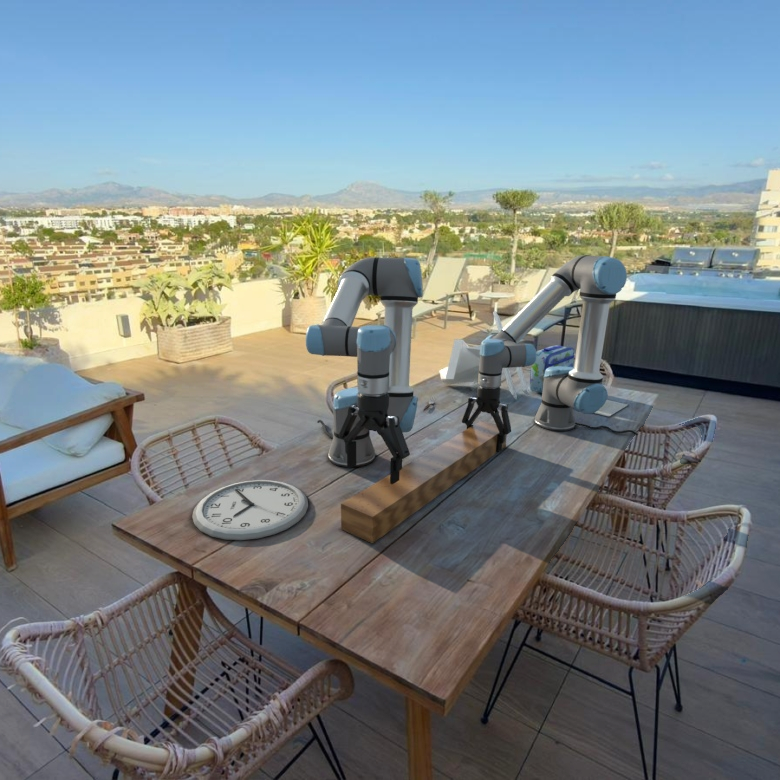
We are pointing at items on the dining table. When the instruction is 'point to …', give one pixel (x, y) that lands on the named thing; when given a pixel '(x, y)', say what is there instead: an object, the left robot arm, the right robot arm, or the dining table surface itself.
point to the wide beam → (418, 483)
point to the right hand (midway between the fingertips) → (484, 447)
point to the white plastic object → (474, 365)
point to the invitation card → (610, 408)
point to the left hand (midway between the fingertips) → (372, 473)
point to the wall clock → (250, 510)
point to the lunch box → (549, 364)
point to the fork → (430, 403)
